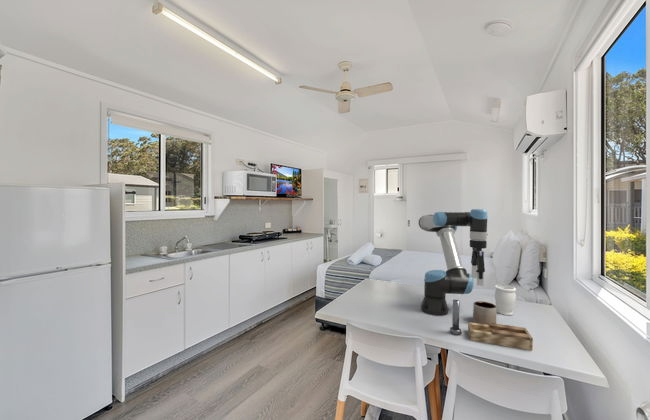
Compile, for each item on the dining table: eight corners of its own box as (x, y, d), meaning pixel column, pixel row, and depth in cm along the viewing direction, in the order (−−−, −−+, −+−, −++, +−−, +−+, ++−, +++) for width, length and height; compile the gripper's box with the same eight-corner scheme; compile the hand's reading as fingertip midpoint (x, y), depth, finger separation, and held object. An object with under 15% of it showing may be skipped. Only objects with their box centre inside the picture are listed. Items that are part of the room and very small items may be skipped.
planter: (496, 328, 144) (496, 310, 144) (472, 323, 150) (472, 305, 149) (496, 321, 153) (496, 303, 153) (473, 316, 159) (474, 299, 159)
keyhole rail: (470, 340, 132) (470, 328, 132) (468, 330, 142) (468, 319, 142) (532, 350, 123) (532, 338, 123) (525, 339, 133) (525, 327, 133)
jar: (518, 317, 159) (519, 290, 159) (498, 315, 161) (499, 289, 161) (510, 310, 169) (511, 285, 169) (491, 308, 171) (492, 283, 171)
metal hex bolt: (450, 334, 137) (450, 301, 137) (449, 330, 142) (450, 298, 141) (461, 336, 135) (462, 303, 135) (460, 331, 140) (461, 299, 139)
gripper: (492, 243, 130) (491, 289, 131) (481, 237, 154) (480, 276, 154) (474, 242, 132) (473, 287, 133) (465, 236, 156) (464, 274, 157)
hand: (477, 281), depth 144 cm, fingers open, 13 cm apart
